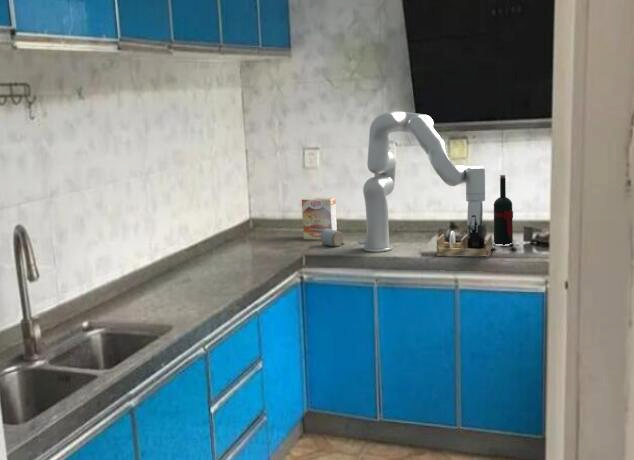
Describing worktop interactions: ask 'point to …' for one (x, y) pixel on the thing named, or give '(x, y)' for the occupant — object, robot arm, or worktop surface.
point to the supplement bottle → (481, 237)
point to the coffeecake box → (318, 216)
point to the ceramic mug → (332, 238)
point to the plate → (452, 239)
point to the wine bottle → (503, 216)
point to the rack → (462, 247)
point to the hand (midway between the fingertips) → (475, 239)
